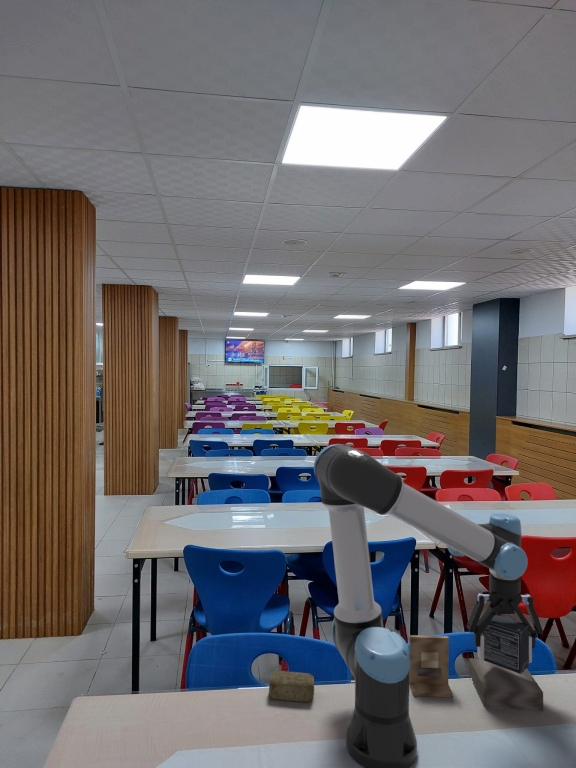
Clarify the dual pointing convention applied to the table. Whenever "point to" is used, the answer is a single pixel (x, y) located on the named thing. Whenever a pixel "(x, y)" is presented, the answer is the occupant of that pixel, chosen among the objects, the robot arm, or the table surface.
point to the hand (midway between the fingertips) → (504, 659)
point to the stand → (429, 666)
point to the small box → (507, 644)
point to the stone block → (291, 686)
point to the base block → (505, 687)
